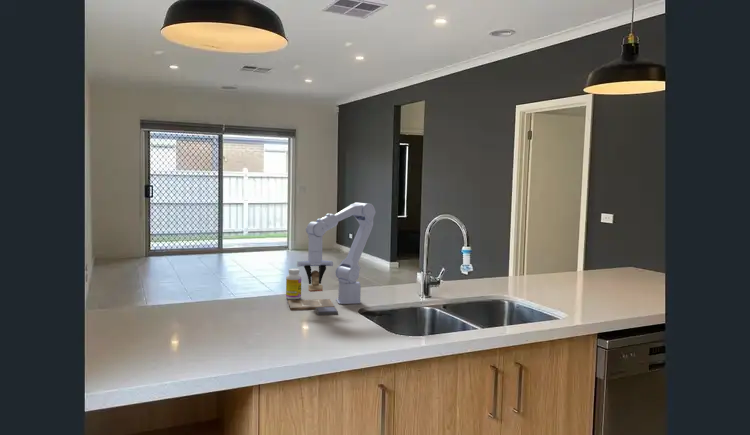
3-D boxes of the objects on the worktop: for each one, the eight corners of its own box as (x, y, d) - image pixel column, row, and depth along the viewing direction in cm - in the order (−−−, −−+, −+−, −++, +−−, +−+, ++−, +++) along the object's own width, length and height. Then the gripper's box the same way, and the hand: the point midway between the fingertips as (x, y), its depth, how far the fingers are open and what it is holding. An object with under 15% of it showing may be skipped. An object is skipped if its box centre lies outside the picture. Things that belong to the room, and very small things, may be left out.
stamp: (320, 289, 223) (319, 269, 223) (322, 291, 218) (322, 270, 219) (308, 290, 222) (308, 270, 222) (310, 291, 217) (309, 271, 217)
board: (329, 301, 232) (329, 298, 232) (334, 308, 220) (334, 306, 220) (287, 302, 228) (288, 299, 228) (290, 310, 216) (290, 307, 216)
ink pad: (334, 309, 219) (334, 306, 219) (338, 314, 211) (338, 311, 211) (315, 310, 217) (315, 307, 217) (317, 315, 209) (317, 312, 209)
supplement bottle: (299, 300, 233) (300, 270, 232) (284, 299, 233) (285, 270, 232) (302, 296, 240) (302, 268, 239) (287, 296, 240) (287, 267, 239)
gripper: (298, 252, 214) (298, 285, 215) (334, 252, 218) (333, 285, 219) (296, 250, 221) (296, 282, 222) (331, 249, 225) (330, 281, 226)
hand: (314, 283), depth 221 cm, fingers closed on stamp, 3 cm apart
